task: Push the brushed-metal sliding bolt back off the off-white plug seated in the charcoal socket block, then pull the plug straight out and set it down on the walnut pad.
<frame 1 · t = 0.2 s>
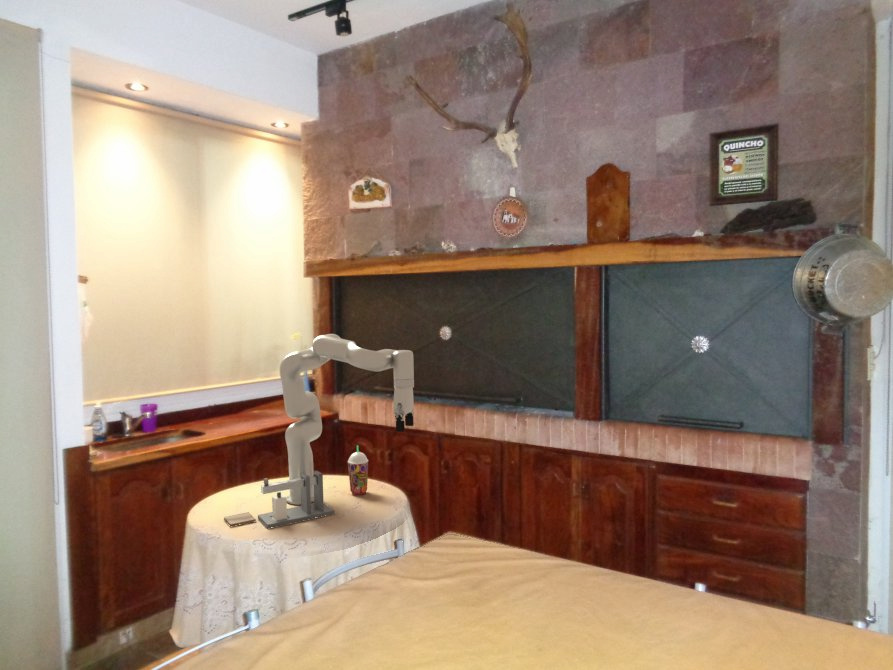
hand: (404, 428, 242), 31 cm above the table, tool pointing down, fingers open, 9 cm apart
plug: (280, 521, 235), resting in socket block
bolt: (291, 480, 236), point 14 cm above the table, slide at 0.0 cm
socket block: (280, 521, 235), on the table
smoothie: (358, 493, 265), on the table
pad: (239, 520, 236), on the table
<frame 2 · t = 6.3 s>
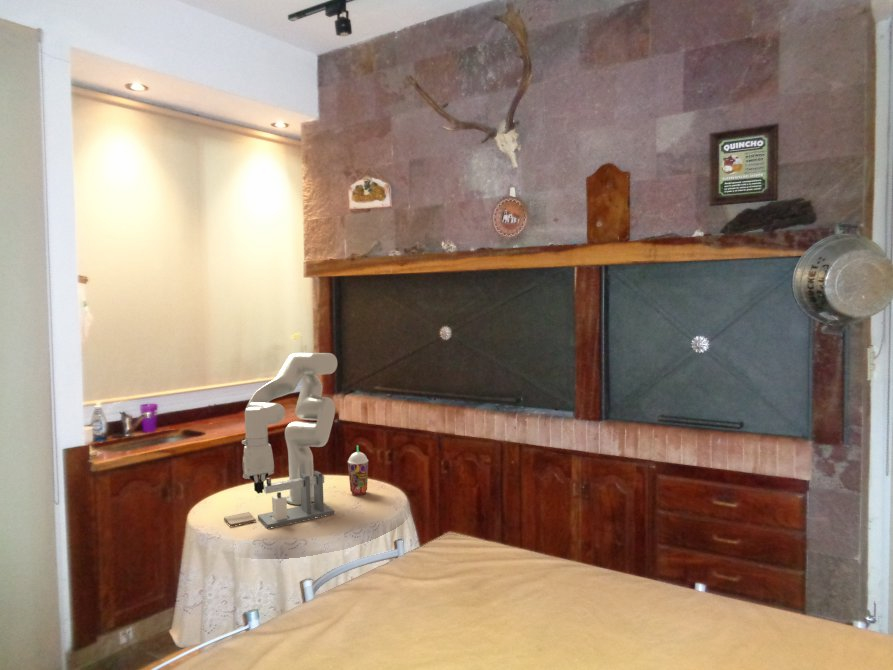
hand: (259, 492, 230), 12 cm above the table, tool pointing down, fingers closed
bolt: (294, 480, 237), point 14 cm above the table, slide at 1.0 cm, touching gripper
everything else where it was.
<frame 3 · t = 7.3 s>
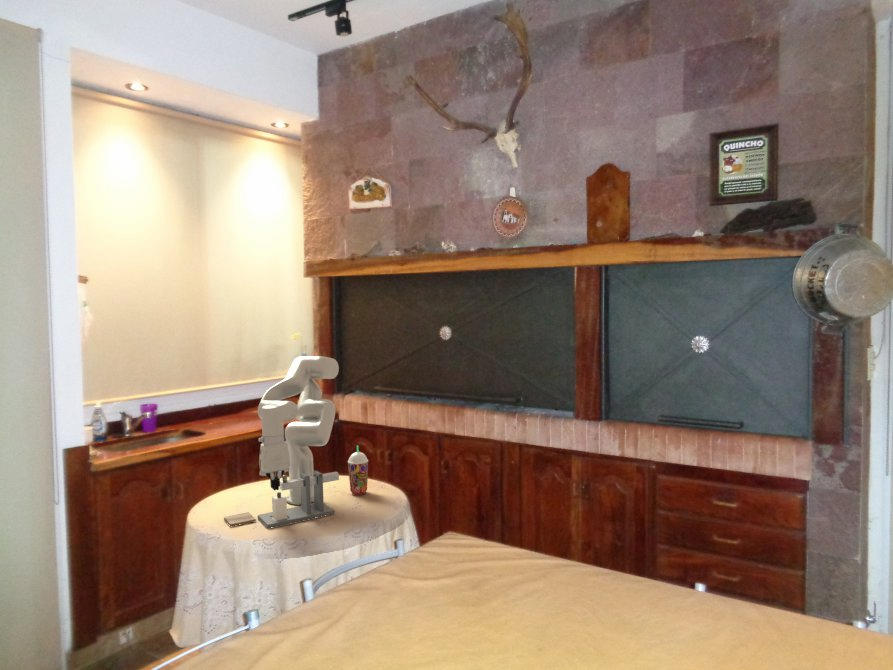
hand: (275, 489, 233), 12 cm above the table, tool pointing down, fingers closed
bolt: (309, 477, 240), point 14 cm above the table, slide at 6.8 cm, touching gripper
everything else where it was.
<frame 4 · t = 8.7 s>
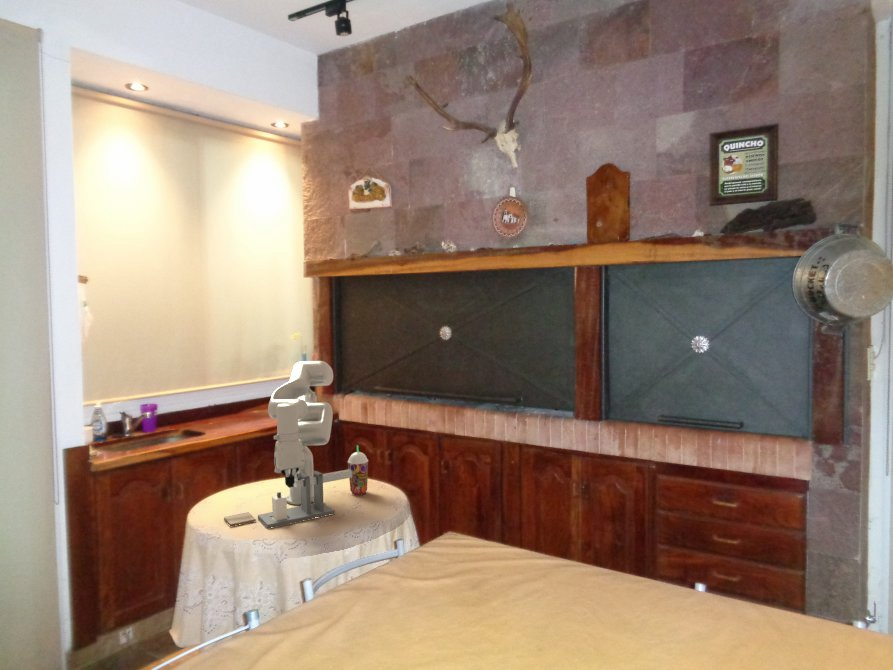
hand: (290, 486, 236), 12 cm above the table, tool pointing down, fingers closed
bolt: (323, 475, 243), point 14 cm above the table, slide at 12.2 cm, touching gripper
everything else where it was.
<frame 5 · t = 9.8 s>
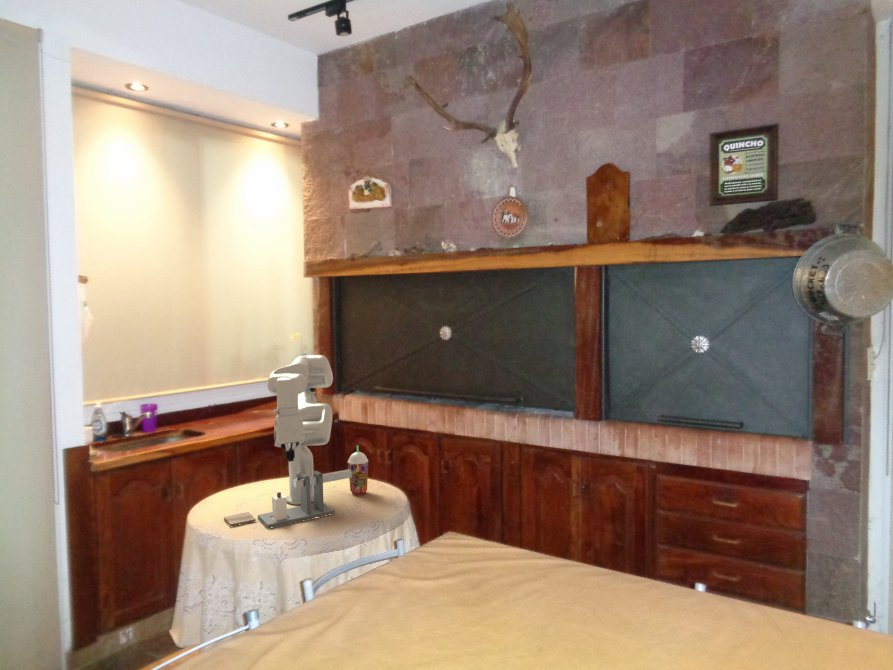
hand: (290, 460, 236), 22 cm above the table, tool pointing down, fingers closed
bolt: (323, 475, 243), point 14 cm above the table, slide at 12.0 cm
everything else where it was.
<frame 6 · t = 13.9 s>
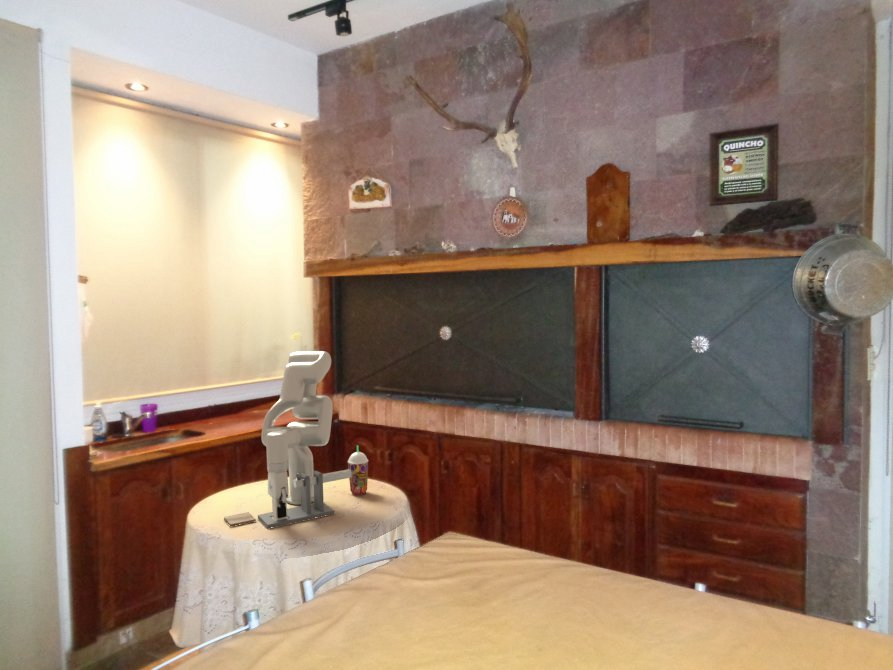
hand: (279, 514, 235), 2 cm above the table, tool pointing down, fingers closed on plug, 4 cm apart
plug: (280, 521, 235), resting in socket block, touching gripper
everything else where it was.
when the fingers open (5 cm above the table, at t = 20.6 s): plug stays where it is, resting on pad.
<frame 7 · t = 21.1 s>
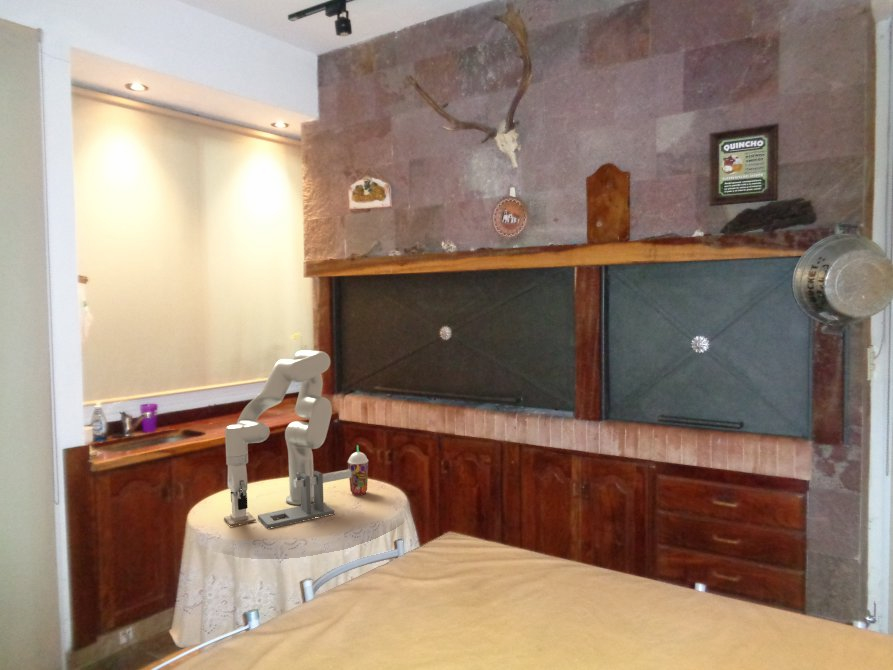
hand: (239, 505, 235), 6 cm above the table, tool pointing down, fingers open, 9 cm apart
plug: (239, 518, 236), point 1 cm above the table, touching pad
everything else where it was.
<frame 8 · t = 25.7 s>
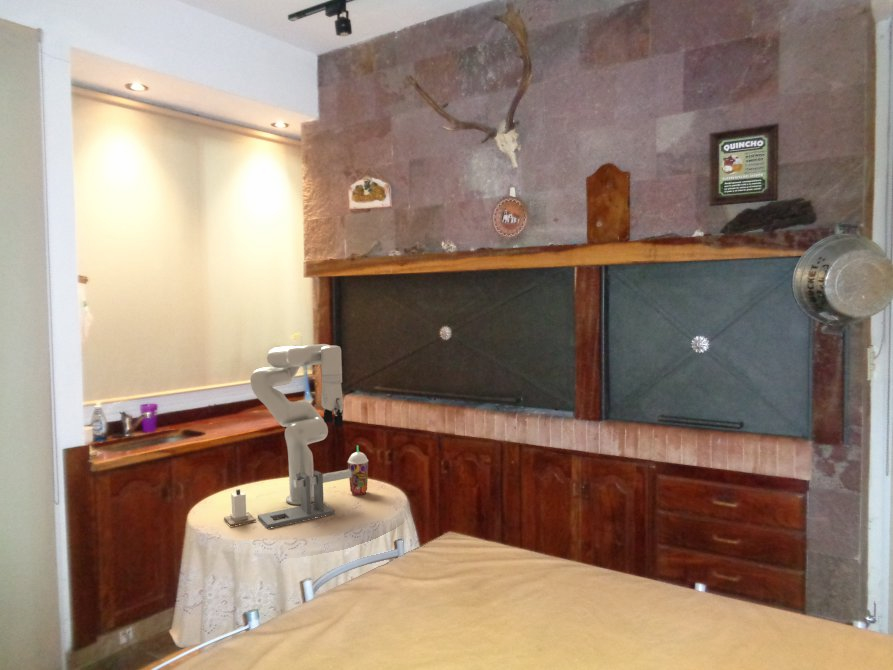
hand: (333, 424, 242), 33 cm above the table, tool pointing down, fingers open, 9 cm apart
nothing on the table moved.
at the end: bolt slide at 12.0 cm; plug 0.1 cm off-centre on the pad, point 1.0 cm above the pad's base; plug tilted 0° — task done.
